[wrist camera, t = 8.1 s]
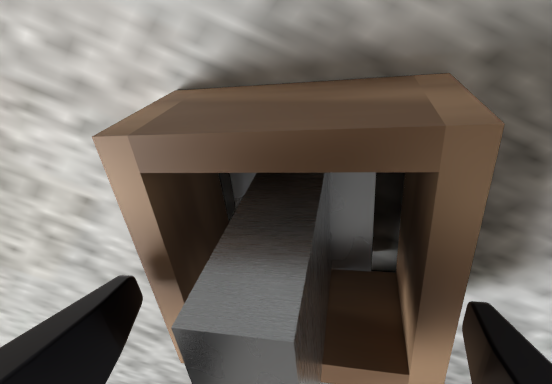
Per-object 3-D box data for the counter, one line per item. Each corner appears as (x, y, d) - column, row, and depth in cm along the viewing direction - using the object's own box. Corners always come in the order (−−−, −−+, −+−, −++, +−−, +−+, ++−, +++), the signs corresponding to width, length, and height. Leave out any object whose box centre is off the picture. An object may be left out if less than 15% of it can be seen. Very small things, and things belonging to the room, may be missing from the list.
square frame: (418, 291, 14) (440, 398, 11) (221, 277, 17) (181, 362, 13) (449, 73, 10) (504, 124, 6) (174, 90, 12) (91, 136, 8)
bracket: (369, 251, 14) (381, 504, 7) (253, 245, 15) (166, 458, 8) (375, 136, 12) (401, 354, 5) (236, 139, 13) (91, 318, 6)
